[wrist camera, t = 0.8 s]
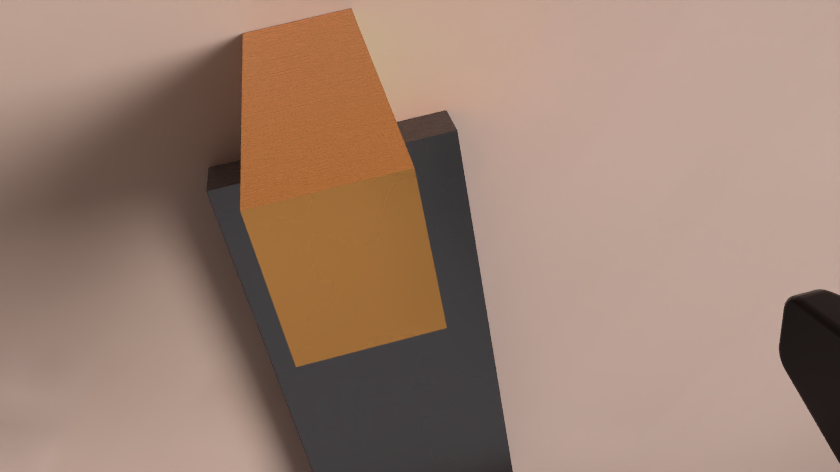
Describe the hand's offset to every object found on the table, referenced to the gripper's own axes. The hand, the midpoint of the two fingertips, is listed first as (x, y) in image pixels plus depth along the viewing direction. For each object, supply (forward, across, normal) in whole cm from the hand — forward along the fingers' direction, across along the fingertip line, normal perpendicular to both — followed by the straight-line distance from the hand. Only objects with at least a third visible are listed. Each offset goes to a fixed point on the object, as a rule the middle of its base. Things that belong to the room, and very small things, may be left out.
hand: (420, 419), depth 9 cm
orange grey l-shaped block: (+11, 0, +7) cm, 13 cm away
